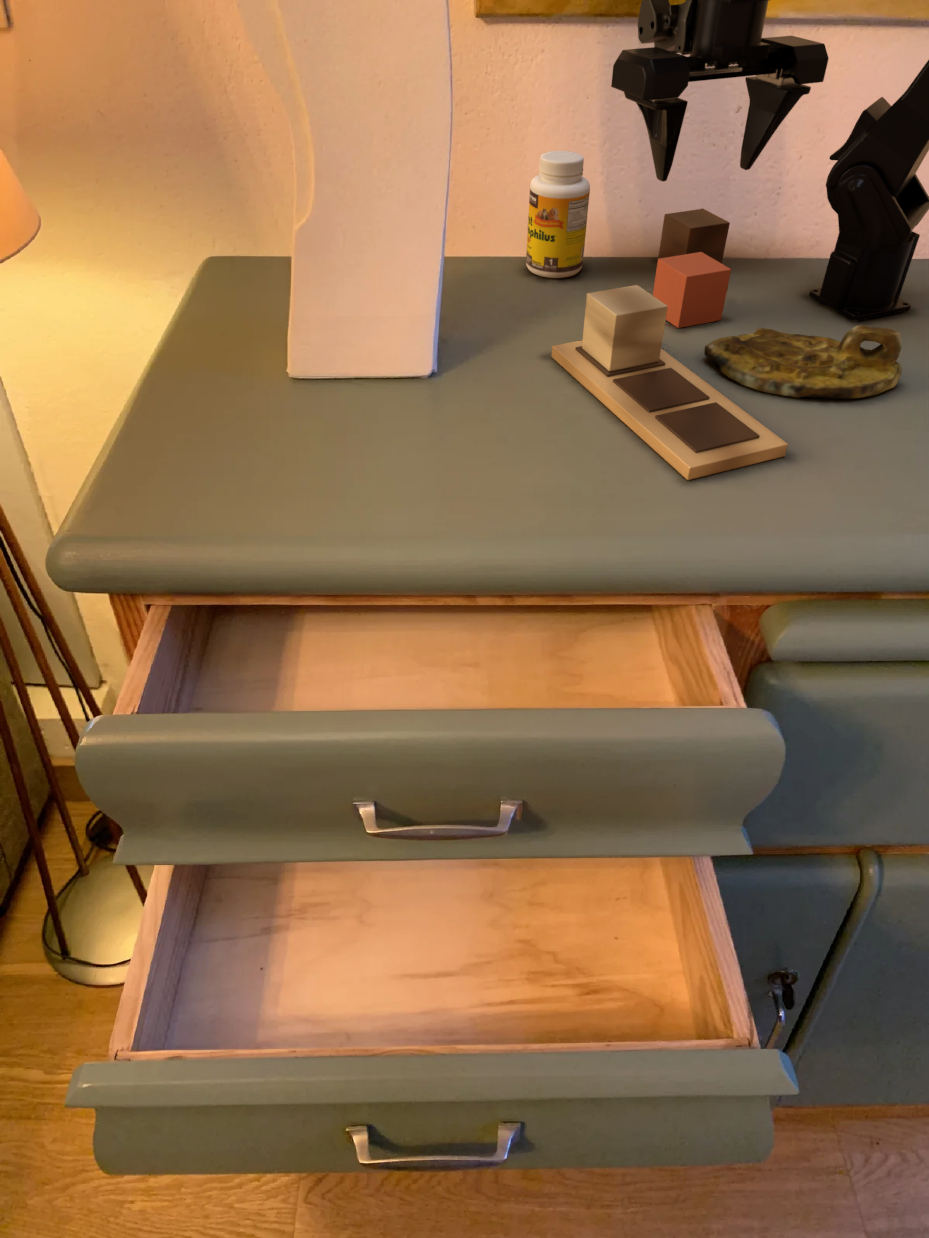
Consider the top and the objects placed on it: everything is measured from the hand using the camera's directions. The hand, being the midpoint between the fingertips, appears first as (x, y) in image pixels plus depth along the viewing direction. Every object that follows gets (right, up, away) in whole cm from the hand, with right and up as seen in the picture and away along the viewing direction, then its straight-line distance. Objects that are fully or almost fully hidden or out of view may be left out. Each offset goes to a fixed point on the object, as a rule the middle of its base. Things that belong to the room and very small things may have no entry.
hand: (703, 174), depth 82 cm
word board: (-7, -25, -15) cm, 30 cm away
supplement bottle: (-13, -7, +5) cm, 16 cm away
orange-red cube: (-2, -14, -3) cm, 14 cm away
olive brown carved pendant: (+5, -22, -11) cm, 25 cm away
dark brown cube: (0, -6, +6) cm, 9 cm away
